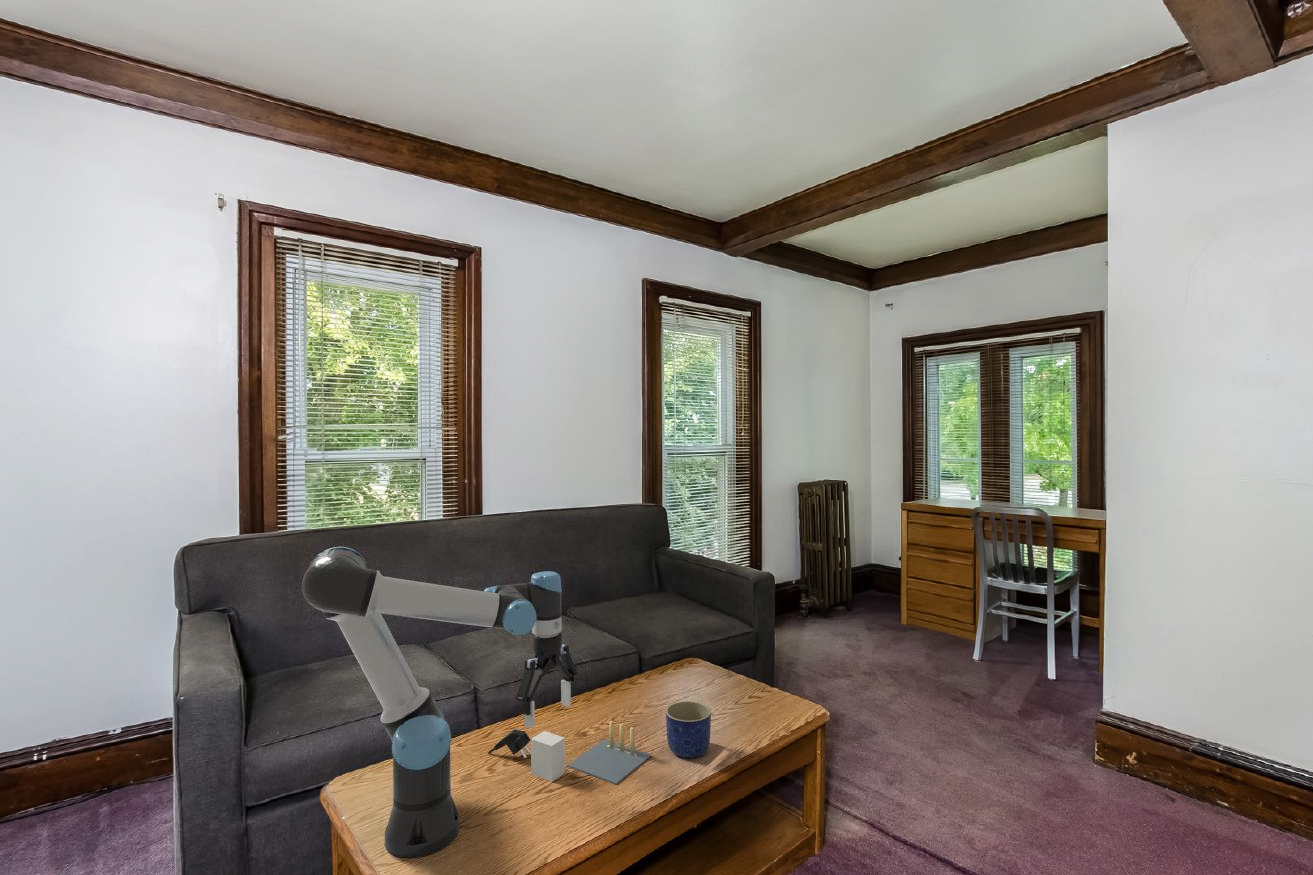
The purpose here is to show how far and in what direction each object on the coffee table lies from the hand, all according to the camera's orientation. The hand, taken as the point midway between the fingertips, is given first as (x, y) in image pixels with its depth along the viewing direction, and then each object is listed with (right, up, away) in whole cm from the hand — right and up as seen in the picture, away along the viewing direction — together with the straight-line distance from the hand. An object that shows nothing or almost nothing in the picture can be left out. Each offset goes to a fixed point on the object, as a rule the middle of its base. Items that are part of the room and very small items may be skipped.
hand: (548, 715), depth 157 cm
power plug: (-16, -17, +9) cm, 25 cm away
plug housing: (0, -15, 0) cm, 15 cm away
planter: (+37, -15, +11) cm, 41 cm away
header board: (+15, -15, +5) cm, 22 cm away
